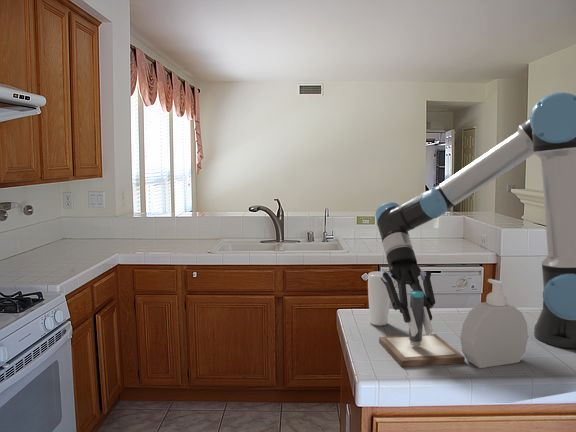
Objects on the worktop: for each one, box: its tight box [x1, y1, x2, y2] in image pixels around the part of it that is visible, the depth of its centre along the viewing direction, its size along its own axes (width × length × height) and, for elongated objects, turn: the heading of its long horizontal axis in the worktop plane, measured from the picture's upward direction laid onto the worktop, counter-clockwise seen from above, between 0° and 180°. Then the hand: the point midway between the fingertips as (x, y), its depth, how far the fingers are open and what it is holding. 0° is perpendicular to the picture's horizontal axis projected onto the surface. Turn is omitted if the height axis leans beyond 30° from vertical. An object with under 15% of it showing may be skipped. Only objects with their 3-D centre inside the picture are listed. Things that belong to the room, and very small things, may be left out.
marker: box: [408, 290, 425, 346], centre depth 129 cm, size 3×3×13 cm
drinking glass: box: [367, 270, 391, 327], centre depth 152 cm, size 7×7×15 cm
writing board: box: [378, 333, 466, 368], centre depth 130 cm, size 16×16×2 cm
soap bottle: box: [459, 278, 529, 369], centre depth 124 cm, size 16×5×20 cm, turn 108°
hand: (422, 333), depth 125 cm, fingers closed on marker, 3 cm apart
